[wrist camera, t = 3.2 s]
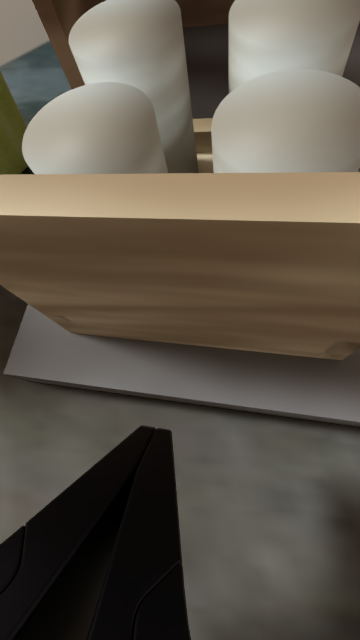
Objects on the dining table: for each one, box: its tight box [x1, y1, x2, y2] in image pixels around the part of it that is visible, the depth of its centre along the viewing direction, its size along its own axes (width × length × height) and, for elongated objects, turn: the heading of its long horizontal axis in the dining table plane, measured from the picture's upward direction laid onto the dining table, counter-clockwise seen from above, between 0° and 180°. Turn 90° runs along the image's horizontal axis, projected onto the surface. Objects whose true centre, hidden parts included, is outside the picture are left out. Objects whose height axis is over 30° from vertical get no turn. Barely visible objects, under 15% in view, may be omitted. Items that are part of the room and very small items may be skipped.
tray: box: [0, 0, 360, 360], centre depth 12 cm, size 12×13×9 cm
